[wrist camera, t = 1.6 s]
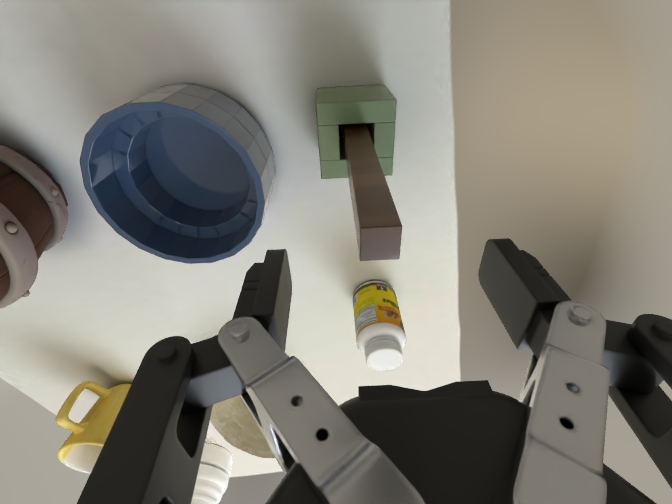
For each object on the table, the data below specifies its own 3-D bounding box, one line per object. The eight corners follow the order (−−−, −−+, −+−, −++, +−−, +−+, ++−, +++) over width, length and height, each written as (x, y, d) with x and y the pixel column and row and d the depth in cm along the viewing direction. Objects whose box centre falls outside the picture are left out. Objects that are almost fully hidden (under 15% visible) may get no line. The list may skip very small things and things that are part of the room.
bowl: (253, 334, 48) (238, 401, 40) (323, 374, 54) (322, 439, 46) (196, 379, 54) (173, 444, 46) (265, 410, 60) (255, 473, 52)
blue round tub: (102, 87, 29) (41, 107, 23) (262, 78, 28) (245, 96, 22) (159, 224, 37) (126, 267, 31) (284, 218, 37) (275, 259, 31)
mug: (175, 405, 58) (149, 473, 50) (120, 411, 59) (85, 479, 50) (134, 357, 50) (95, 428, 42) (71, 365, 51) (21, 436, 42)
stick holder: (317, 87, 29) (315, 103, 24) (385, 84, 29) (396, 99, 24) (322, 154, 33) (321, 179, 28) (382, 151, 32) (392, 175, 28)
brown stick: (341, 111, 30) (359, 227, 14) (361, 110, 30) (402, 225, 14) (342, 131, 31) (360, 261, 15) (361, 130, 31) (399, 259, 15)
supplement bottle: (402, 297, 44) (419, 364, 36) (366, 315, 46) (375, 382, 38) (381, 271, 41) (395, 336, 33) (344, 290, 43) (348, 357, 35)
